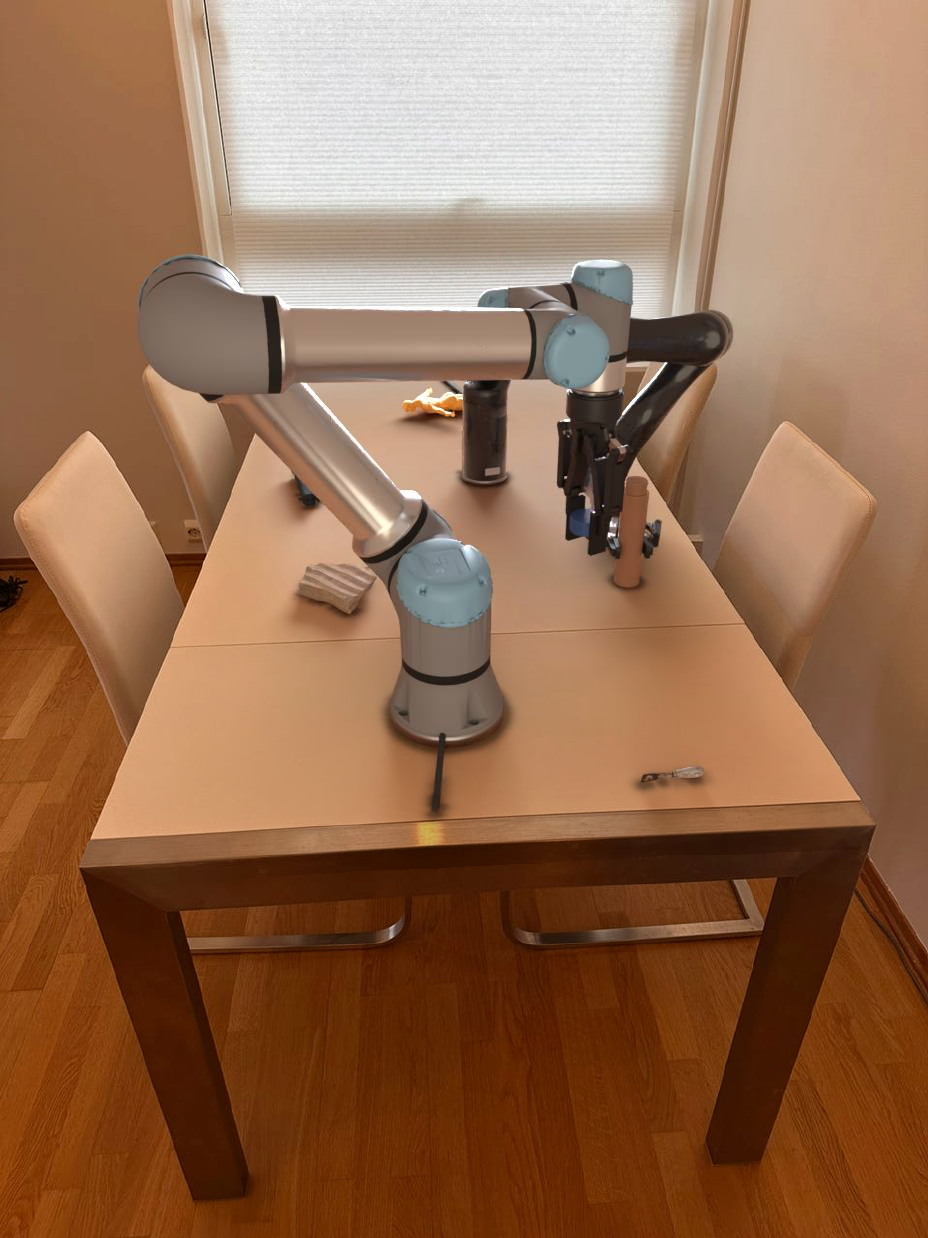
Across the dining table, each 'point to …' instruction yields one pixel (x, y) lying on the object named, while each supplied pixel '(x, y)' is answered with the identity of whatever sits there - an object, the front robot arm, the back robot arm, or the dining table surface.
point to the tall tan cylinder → (632, 532)
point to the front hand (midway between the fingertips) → (585, 544)
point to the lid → (580, 522)
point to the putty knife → (674, 774)
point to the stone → (337, 584)
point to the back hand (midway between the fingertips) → (633, 553)
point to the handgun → (305, 493)
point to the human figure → (435, 403)
